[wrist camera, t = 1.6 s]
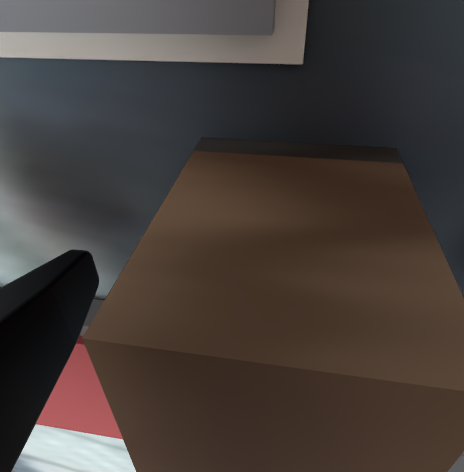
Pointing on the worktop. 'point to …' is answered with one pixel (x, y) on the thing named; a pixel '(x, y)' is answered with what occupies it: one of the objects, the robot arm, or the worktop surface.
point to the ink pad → (80, 393)
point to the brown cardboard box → (286, 319)
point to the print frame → (155, 30)
